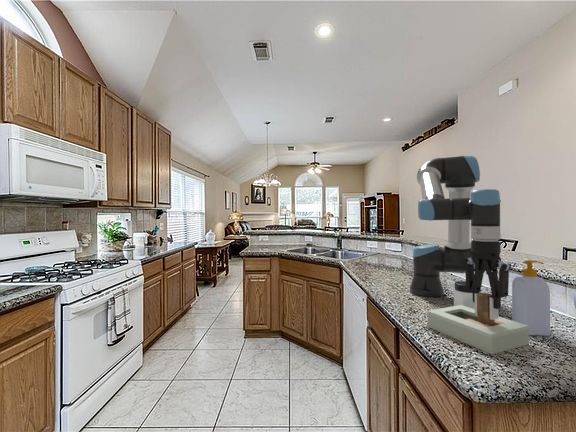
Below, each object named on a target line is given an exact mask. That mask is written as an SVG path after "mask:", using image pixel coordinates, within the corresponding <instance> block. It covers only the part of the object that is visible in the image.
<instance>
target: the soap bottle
mask: <svg viewBox="0 0 576 432" xmlns="http://www.w3.org/2000/svg"><path fill="white" fill-rule="evenodd" d="M522 263H523V264H526V267H527V268H523V269H522V276H516V277H514V278H513V280H512V281H511V282H512V283H511V302H512V304H511V308H512V309H511V311H512V312H511V316H512V317H511V320H512V321H515V322H518V323H521V324H525V325H528V326H529V336H540V337H541V336H544V337H546V336H547V337H550V336H551V293H550V292H551V291H550V286H549V285H548V283H547V282H546V280H545V279H544V278H542V277H540V276H538V271H537V269H533V263H539V264H541V265H544V262H541V261H540V260H539V261H537V260H524V261H522Z"/></svg>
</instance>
